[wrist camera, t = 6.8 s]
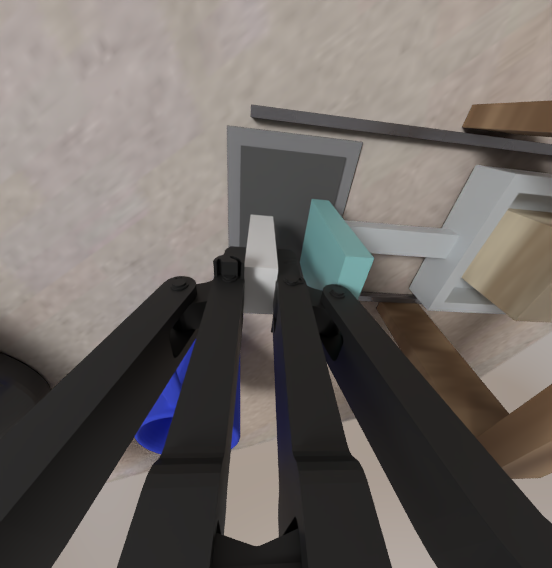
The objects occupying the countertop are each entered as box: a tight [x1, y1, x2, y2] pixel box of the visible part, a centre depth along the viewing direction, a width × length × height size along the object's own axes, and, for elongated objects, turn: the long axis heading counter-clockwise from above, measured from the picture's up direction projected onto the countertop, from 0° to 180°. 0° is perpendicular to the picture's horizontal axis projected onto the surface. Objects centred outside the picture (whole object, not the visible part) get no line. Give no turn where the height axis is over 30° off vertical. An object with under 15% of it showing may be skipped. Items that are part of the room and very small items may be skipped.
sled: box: [300, 165, 552, 314], centre depth 16 cm, size 28×11×10 cm, turn 84°
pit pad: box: [227, 125, 363, 278], centre depth 19 cm, size 9×12×1 cm
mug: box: [135, 339, 240, 454], centre depth 22 cm, size 8×12×10 cm
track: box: [251, 105, 552, 304], centre depth 20 cm, size 30×15×1 cm, turn 84°
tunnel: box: [376, 101, 552, 479], centre depth 14 cm, size 4×17×14 cm, turn 174°
